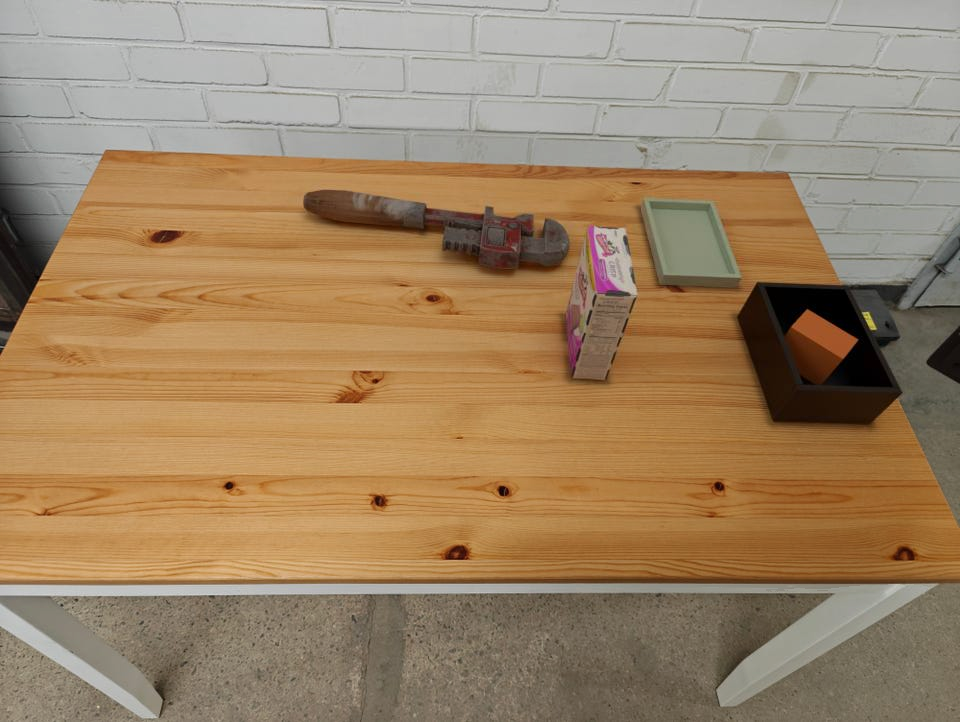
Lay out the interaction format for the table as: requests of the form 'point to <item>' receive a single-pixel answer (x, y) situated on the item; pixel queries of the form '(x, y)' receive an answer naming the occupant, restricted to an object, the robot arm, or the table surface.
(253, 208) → the table surface
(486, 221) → the pipe wrench
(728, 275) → the shallow green tray
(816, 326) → the orange brown rectangular block
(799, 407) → the dark open storage bin
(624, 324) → the candy bar box
